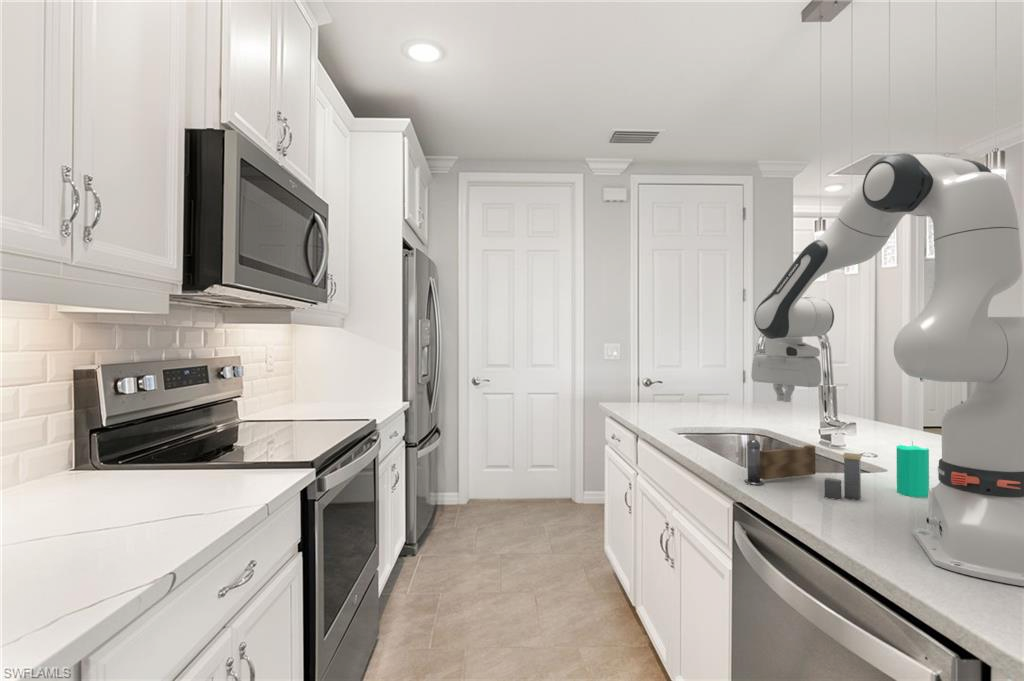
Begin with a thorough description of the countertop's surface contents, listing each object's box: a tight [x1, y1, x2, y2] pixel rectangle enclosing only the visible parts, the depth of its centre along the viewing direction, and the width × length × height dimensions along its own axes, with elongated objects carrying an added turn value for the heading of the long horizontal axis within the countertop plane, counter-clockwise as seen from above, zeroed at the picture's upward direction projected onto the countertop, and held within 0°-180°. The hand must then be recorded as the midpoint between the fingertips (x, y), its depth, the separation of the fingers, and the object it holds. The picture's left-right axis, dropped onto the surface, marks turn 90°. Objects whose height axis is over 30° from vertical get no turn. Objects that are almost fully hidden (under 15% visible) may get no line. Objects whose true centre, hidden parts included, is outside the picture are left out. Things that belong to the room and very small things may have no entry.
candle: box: [896, 440, 930, 498], centre depth 121 cm, size 6×6×12 cm
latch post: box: [823, 452, 862, 501], centre depth 118 cm, size 5×7×10 cm
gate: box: [760, 444, 817, 481], centre depth 133 cm, size 16×2×7 cm, turn 107°
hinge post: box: [743, 438, 765, 487], centre depth 130 cm, size 4×4×11 cm
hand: (783, 401), depth 140 cm, fingers closed
